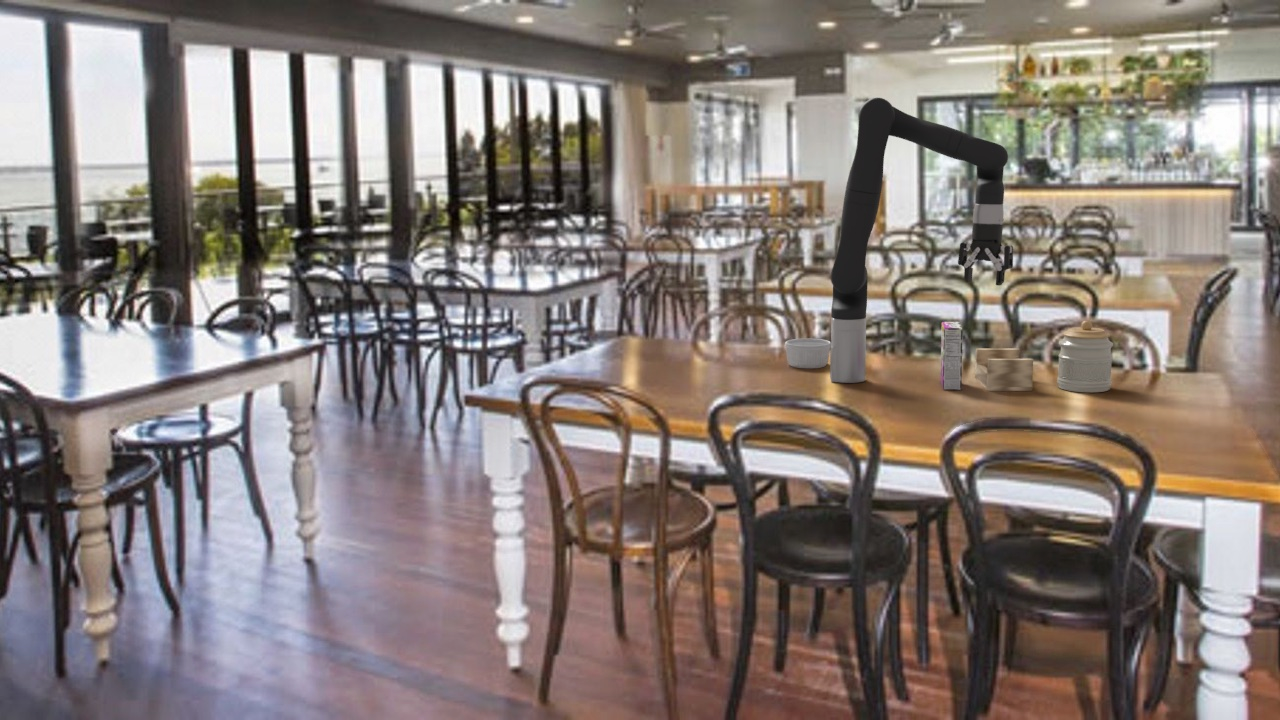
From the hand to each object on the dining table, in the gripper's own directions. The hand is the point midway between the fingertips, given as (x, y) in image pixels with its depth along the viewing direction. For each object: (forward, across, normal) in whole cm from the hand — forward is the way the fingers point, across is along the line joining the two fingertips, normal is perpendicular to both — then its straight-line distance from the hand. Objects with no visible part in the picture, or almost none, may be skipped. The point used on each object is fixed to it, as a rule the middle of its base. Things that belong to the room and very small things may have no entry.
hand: (983, 283), depth 300 cm
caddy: (+26, +6, +2) cm, 27 cm away
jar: (+26, +25, +10) cm, 37 cm away
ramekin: (+28, -51, -6) cm, 58 cm away
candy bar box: (+27, -3, -9) cm, 28 cm away
